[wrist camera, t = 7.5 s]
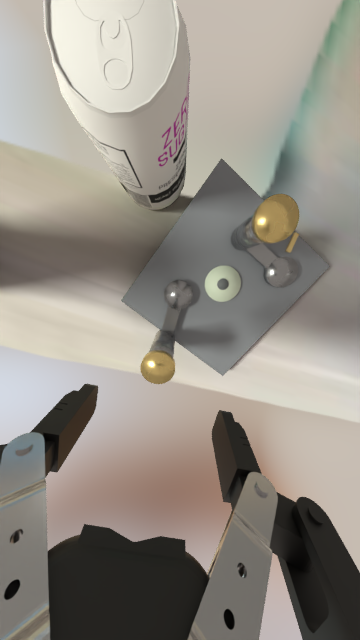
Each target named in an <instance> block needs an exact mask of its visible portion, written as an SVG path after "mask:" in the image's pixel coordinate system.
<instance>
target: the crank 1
mask: <svg viewBox="0 0 360 640" xmlns="http://www.w3.org/2000/svg"><path fill="white" fill-rule="evenodd" d="M192 298H193V292H192V289H191V287H190V286H189V284H188V283H186V282H185V281H182V280H175V281H172V282H170V283H169V284H168V285H167V287H166V288H165V291H164V299H165V301H166V303H167V304H168V305H169V306H168V309H167V312H166V316H165V319H164V323H163V326H162V330H160V331H158V332H157V334H156V336H155V339H154V341H153V344H152V346H151V349H150V351H149V353H148V354H146V355H145V357H144V359H143V361H142V363H141V373H142V375H143V376H144V378H145V379H146V380H147V381H149V382H151V383H154V384H162V383H165V382H167V381H169V380H170V379H171V378H172V377H173V375H174V372H175V361H174V359H173V354H174V344H175V336H174V334H173V332H174V329H175V326H176V323H177V320H178V316H179V313H180V310H181V309H183V308H185V307H187V306H188V305H189V304H190V303H191V301H192Z"/></svg>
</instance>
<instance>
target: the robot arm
mask: <svg viewBox="0 0 360 640" xmlns="http://www.w3.org/2000/svg"><path fill="white" fill-rule="evenodd" d="M97 393H98V386H95V385H90V384H84V386H83V387H82V388H81V389H80V390H79V391H72V392H70V393H68V394H67V395H65V396H64V397H63V398H62V399H61V400H60V401H59V403H58V404H56V406H55V407H54V408H53V409H52V410H51V411H50V412H49V413H48V414H47V415H46V416H45V417H44V418H43V419H42V420H41V421H40V423H39V424H38V425H37V426H36V427H35V428H34V429H33V430H32V431H31V432H30V433H26V434H23V435H21V436H18V437H17V438H15V439H14V440H12V441H11V442H10V443H9V444H5V445H0V640H259V635H260V629H261V623H262V616H263V610H264V604H265V597H266V592H267V585H268V579H269V572H270V566H271V560H272V553H274V554H276V555H277V556H278V559H279V562H280V566H281V569H282V572H283V575H284V579H285V582H286V585H287V589H288V592H289V595H290V599H291V602H292V605H293V608H294V612H295V615H296V618H297V622H298V625H299V629H300V632H301V635H302V639H303V640H360V573H359V570H358V569H357V567H356V565H355V563H354V562H353V560H352V558H351V556H350V554H349V553H348V551H347V549H346V547H345V546H344V544H343V542H342V540H341V538H340V536H339V535H338V533H337V531H336V529H335V528H334V526H333V524H332V522H331V520H330V519H329V517H328V516H327V514H326V513H325V512H324V511H323V510H322V509H321V507H320V506H319V505H317V504H316V503H315V502H314V501H312V500H311V499H309V498H306V497H300V498H299V499H298V500H297V502H294V501H292V500H290V499H288V498H286V497H285V496H283V495H281V494H279V493H277V492H276V490H275V488H274V486H273V485H272V483H271V482H270V481H269V480H268V479H267V478H266V477H265V476H263V475H262V474H261V471H260V468H259V466H258V463H257V461H256V458H255V456H254V453H253V451H252V448H251V447H250V443H249V441H248V438H247V436H246V433H245V431H244V429H243V428H242V426H241V425H240V424H239V423H237V422H235V421H234V418H233V415H232V413H231V412H226V411H221V410H219V412H218V414H217V417H216V420H215V423H214V426H213V429H212V441H213V447H214V452H215V458H216V464H217V468H218V474H219V480H220V485H221V491H222V497H223V502H228V503H231V506H232V512H231V514H230V517H229V519H228V522H227V524H226V527H225V530H224V532H223V535H222V537H221V540H220V543H219V545H218V548H217V550H216V553H215V555H214V558H213V560H212V562H211V565H210V567H209V570H208V572H207V573H206V572H205V570H204V569H203V567H202V566H201V565H200V563H198V561H197V560H196V559H195V558H194V557H193V556H191V555H190V554H189V553H187V552H186V551H185V540H181V539H175V538H168V537H162V536H160V537H156V538H152V539H147V540H143V541H138V542H132V541H130V540H129V539H127V538H125V537H123V536H122V535H120V534H118V533H117V532H115V531H113V530H112V529H110V528H105V527H99V526H92V525H86V524H84V527H83V529H82V532H81V534H80V535H77V536H74V537H71V538H69V539H66V540H64V541H62V542H60V543H59V544H57V545H56V546H54V547H53V548H52V549H50V550H49V551H48V549H47V510H46V509H47V507H46V481H45V478H46V476H47V475H48V473H49V472H50V471H52V472H58V470H59V469H60V467H61V466H62V464H63V462H64V461H65V459H66V458H67V456H68V454H69V453H70V451H71V449H72V448H73V446H74V445H75V443H76V441H77V440H78V438H79V437H80V435H81V433H82V432H83V430H84V429H85V427H86V425H87V424H88V422H89V420H90V419H91V417H92V415H93V413H94V411H95V408H96V401H97Z"/></svg>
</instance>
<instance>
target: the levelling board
mask: <svg viewBox="0 0 360 640" xmlns="http://www.w3.org/2000/svg"><path fill="white" fill-rule="evenodd" d="M262 202H264V200H263V199H262V198H261V197H260V196H259V195H258V194H257V193H256V192H255V191H254V190H253V189H252V188H251V187H250V186H249V185H248V184H247V183H246V182H245V181H244V180H243V179H242V178H241V177H240V176H239V175H238V174H237V173H236V172H235V171H234V170H233V169H232V168H231V167H230V166H229V165H228V164H227V163H226V162H225V161H224V160H223V159H221V160H220V161H219V163H218V164H217V166H216V167H215V168H214V170H213V171H212V173H211V174H210V176H209V177H208V179H207V180H206V181H205V183H204V184H203V185H202V187H201V189H200V190H199V191H198V193H197V194H196V195H195V197H194V198H193V200H192V201H191V202H190V204H189V205H188V207H187V208H186V209H185V211H184V212H183V214H182V215H181V217H180V218H179V219H178V221H177V222H176V224H175V225H174V226H173V228H172V229H171V231H170V232H169V234H168V235H167V236H166V238H165V239H164V241H163V242H162V243H161V245H160V246H159V248H158V249H157V251H156V252H155V253H154V255H153V256H152V258H151V259H150V260H149V262H148V263H147V265H146V266H145V267H144V269H143V270H142V272H141V273H140V275H139V276H138V277H137V279H136V280H135V282H134V283H133V284H132V286H131V287H130V289H129V290H128V292H127V293H126V294H125V296H124V297H123V299H122V300H121V301H122V302H123V303H125V304H126V305H127V306H129V307H130V308H132V309H133V310H134V311H136V312H137V313H138V314H140V315H141V316H142V317H144V318H145V319H146V320H148V321H149V322H150V323H152V324H153V325H155V326H156V327H157V328H159V329H160V330H162V326H163V323H164V319H165V316H166V312H167V309H168V306H169V305H168V304H167V303H166V301H165V299H164V291H165V288H166V287H167V285H168V284H169V283H170V282H172V281H175V280H182V281H185V282H186V283H188V284H189V286H190V287H191V289H192V292H193V298H192V301H191V303H190V304H189V305H188V306H187V307H185V308H183V309H181V310H180V313H179V316H178V320H177V323H176V326H175V329H174V332H173V334H174V336H175V341H176V342H178V343H179V344H180V345H182V346H183V347H184V348H186V349H187V350H188V351H190V352H191V353H192V354H194V355H195V356H197V357H198V358H199V359H201V360H202V361H203V362H205V363H206V364H207V365H209V366H210V367H211V368H213V369H214V370H216V371H217V372H218V373H220V374H221V375H222V376H223V375H224V374H225V373H226V372H227V371H228V370H229V369H230V368H231V367H232V366H233V365H234V364H235V363H236V362H237V361H238V360H239V359H240V358H241V357H242V356H243V355H244V354H245V353H246V352H247V351H248V350H249V348H250V347H251V346H252V345H253V344H254V343H255V342H256V341H257V340H258V339H259V338H260V337H261V336H262V335H263V334H264V333H265V332H266V331H267V330H268V329H269V328H270V327H271V326H272V325H273V324H274V323H275V322H276V321H277V320H278V319H279V318H280V317H281V316H282V315H283V314H284V313H285V312H286V311H287V310H288V309H289V308H290V307H291V305H292V304H293V303H294V302H295V301H296V300H297V299H298V298H299V297H300V296H301V295H302V294H303V293H304V292H305V291H306V290H307V289H308V288H309V287H310V286H311V285H312V284H313V283H314V282H315V281H316V280H317V279H318V278H319V277H320V276H321V275H322V274H323V273H324V272H325V271H326V270H327V269H328V268H329V267H330V266H329V265H328V264H327V263H326V262H325V261H324V260H323V259H322V258H321V257H320V256H319V255H318V254H317V253H316V252H315V251H314V250H313V249H312V248H311V247H310V246H309V245H308V244H307V243H306V242H305V241H304V240H303V239H302V238H301V237H300V236H299V234H298V233H296V232H295V231H294V232H293V233H292V234H291V235H290V236H289V237H288V238H286V239H284V240H282V241H279V242H276V243H272V244H268V243H263V244H264V245H265V246H266V247H267V248H268V249H269V250H270V251H271V252H272V253H273V254H274V255H275V256H276V257H285V256H286V257H290V258H292V259H293V260H294V261H295V262H296V263H297V266H298V273H297V276H296V278H295V280H294V281H293V282H292V283H291V284H290V285H288V286H286V287H282V288H279V287H273V286H270V285H268V284H267V283H266V281H265V280H264V276H263V272H264V267H263V266H261V265H260V264H259V263H258V262H257V261H256V260H255V259H254V258H253V257H252V256H250V255H249V254H248V253H247V252H246V251H245V250H237V249H235V248H234V247H233V245H232V243H231V235H232V232H233V231H234V230H235V229H236V228H237V227H238V226H239V225H241V224H242V223H243V222H244V221H246V220H247V219H248V218H249V217H251V216H252V215H253V214H254V212H255V210H256V209H257V207H258V206H259V205H260V204H261V203H262Z"/></svg>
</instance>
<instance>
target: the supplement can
mask: <svg viewBox="0 0 360 640" xmlns="http://www.w3.org/2000/svg"><path fill="white" fill-rule="evenodd" d="M43 6H44V7H43V9H44V31H45V34H46V38H47V41H48V45H49V48H50V52H51V55H52V62H53V66H54V69H55V73H56V76H57V80H58V83H59V86H60V90H61V94H62V96H63V97H64V99H65V101H66V102H67V104H68V105H69V107H70V109H71V110H72V112H73V114H74V116H75V117H76V119H77V120H78V122H79V123H80V124H81V126H82V128H83V129H84V130H85V132H86V133H87V135H88V136H89V138H90V139H91V141H92V142H93V144H94V145H95V147H96V148H97V149H98V151H99V152H100V154H101V155H102V157H103V158H104V159H105V161H106V162H107V164H108V165H109V167H110V168H111V169H112V171H113V173H114V174H115V176H116V177H117V178H118V180H119V181H120V183H121V184H122V186H123V187H124V189H125V190H126V192H127V193H128V194H129V196H130V197H131V199H133V200H134V201H135V202H136V203H137V204H138V205H139V206H142V207H144V208H147V209H150V210H158V209H163V208H165V207H167V206H169V205H171V204H172V203H173V202H174V201H175V200H176V199H177V198H178V197H179V195H180V193H181V190H182V189H183V186H184V180H185V173H186V149H187V148H186V147H187V122H188V100H189V73H190V53H189V46H188V39H187V31H186V25H185V23H184V20H183V18H182V16H181V13H180V11H179V9H178V6H177V4H176V0H43Z"/></svg>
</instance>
